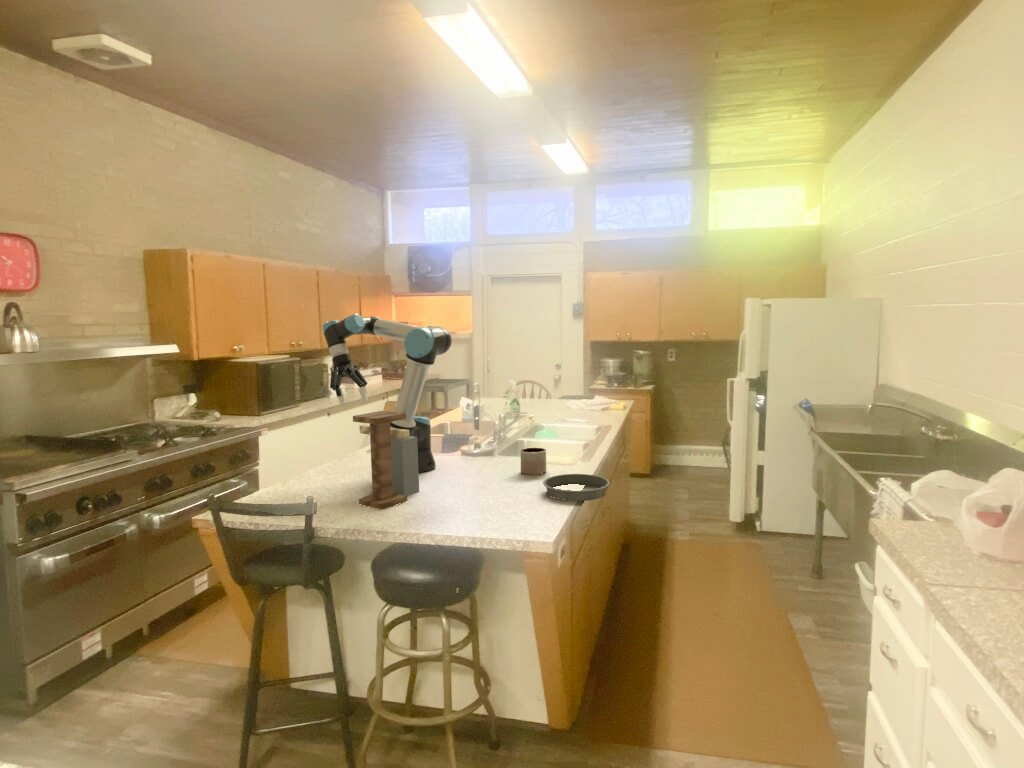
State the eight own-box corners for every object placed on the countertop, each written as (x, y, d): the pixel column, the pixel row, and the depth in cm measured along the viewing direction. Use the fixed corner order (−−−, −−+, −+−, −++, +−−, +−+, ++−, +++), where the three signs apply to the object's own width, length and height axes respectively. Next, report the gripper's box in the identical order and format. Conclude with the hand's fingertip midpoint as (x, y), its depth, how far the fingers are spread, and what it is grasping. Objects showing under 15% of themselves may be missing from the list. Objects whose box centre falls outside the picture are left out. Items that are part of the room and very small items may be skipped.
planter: (516, 474, 275) (516, 451, 274) (526, 468, 285) (525, 446, 284) (541, 476, 271) (541, 453, 270) (549, 470, 281) (549, 448, 280)
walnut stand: (356, 505, 234) (352, 416, 231) (385, 495, 246) (382, 410, 242) (380, 510, 227) (376, 418, 224) (409, 500, 239) (405, 413, 235)
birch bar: (359, 433, 259) (359, 425, 259) (365, 432, 261) (365, 424, 261) (403, 439, 245) (403, 431, 245) (409, 437, 247) (409, 429, 247)
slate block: (372, 490, 254) (370, 436, 252) (387, 485, 261) (385, 433, 258) (404, 496, 244) (402, 440, 242) (419, 491, 251) (417, 437, 248)
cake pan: (532, 489, 252) (532, 478, 251) (589, 482, 261) (589, 471, 260) (561, 506, 229) (561, 493, 229) (622, 497, 238) (622, 485, 238)
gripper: (354, 358, 296) (368, 403, 294) (312, 359, 275) (327, 407, 272) (366, 352, 293) (380, 397, 290) (324, 352, 271) (339, 401, 268)
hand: (354, 402), depth 281 cm, fingers open, 13 cm apart
